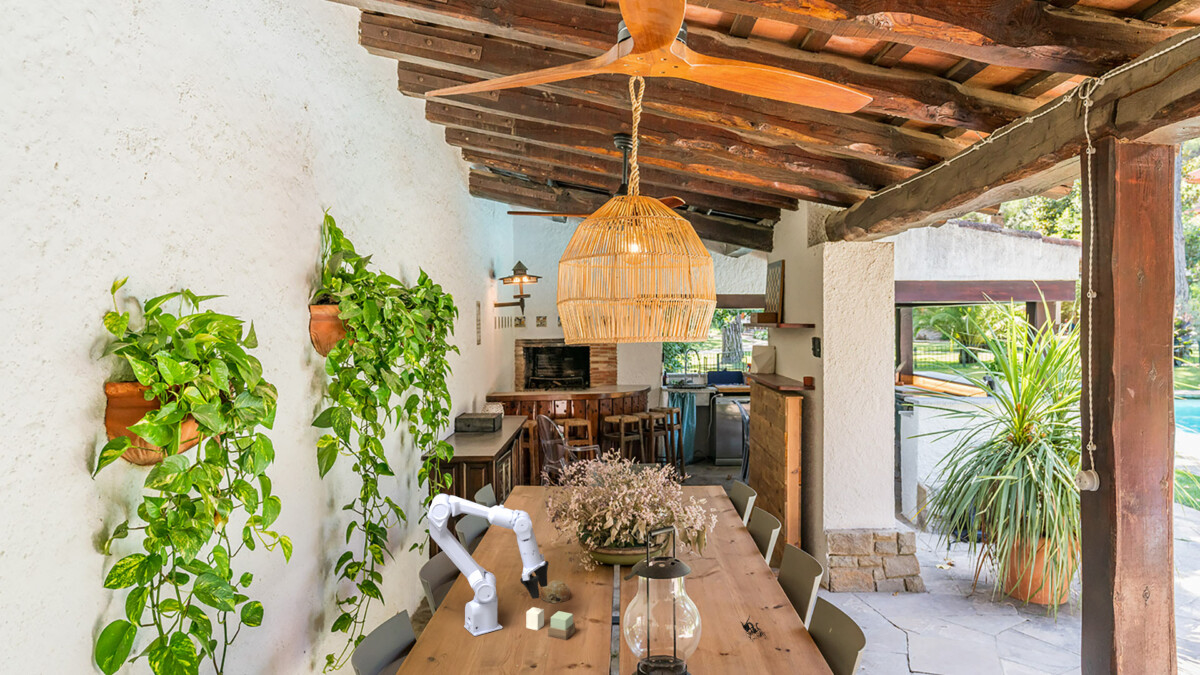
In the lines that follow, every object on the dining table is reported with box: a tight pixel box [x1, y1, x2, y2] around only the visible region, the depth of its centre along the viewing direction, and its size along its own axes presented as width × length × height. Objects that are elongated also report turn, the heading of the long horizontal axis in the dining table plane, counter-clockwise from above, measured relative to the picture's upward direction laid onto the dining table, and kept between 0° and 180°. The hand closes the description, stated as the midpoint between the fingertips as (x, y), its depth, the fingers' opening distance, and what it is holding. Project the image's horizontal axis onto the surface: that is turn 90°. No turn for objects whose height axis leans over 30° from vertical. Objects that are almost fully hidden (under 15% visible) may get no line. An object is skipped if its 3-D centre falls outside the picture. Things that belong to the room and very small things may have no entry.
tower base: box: [547, 622, 576, 641], centre depth 199 cm, size 6×6×3 cm
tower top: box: [550, 610, 574, 630], centre depth 199 cm, size 5×5×3 cm
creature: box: [740, 614, 767, 640], centre depth 199 cm, size 8×5×8 cm
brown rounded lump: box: [540, 578, 571, 604], centre depth 227 cm, size 10×10×8 cm
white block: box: [525, 606, 545, 631], centre depth 204 cm, size 4×4×5 cm
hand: (540, 592), depth 206 cm, fingers open, 7 cm apart
